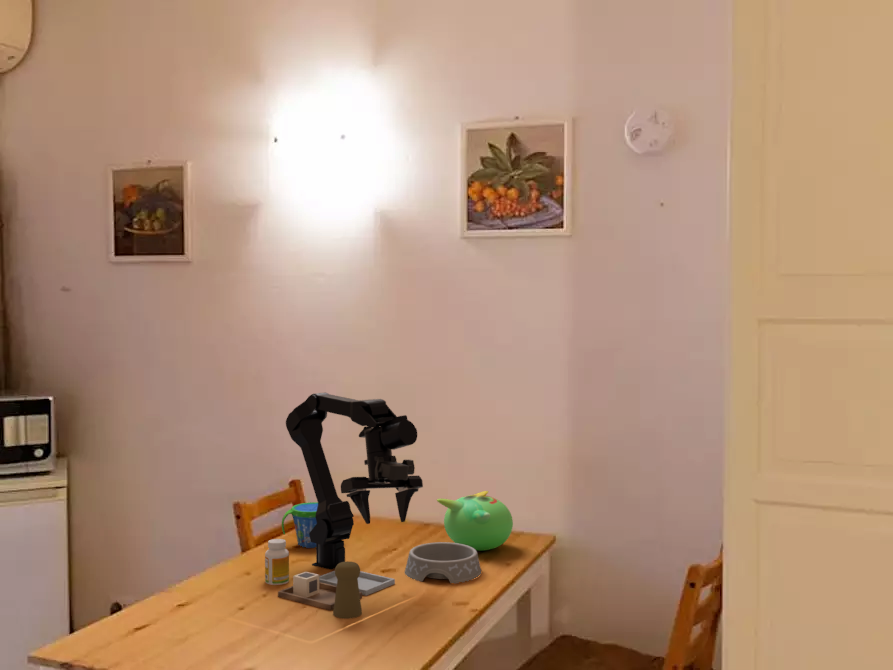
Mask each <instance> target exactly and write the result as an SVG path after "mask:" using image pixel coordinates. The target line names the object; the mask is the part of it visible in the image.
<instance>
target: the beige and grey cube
mask: <svg viewBox="0 0 893 670" xmlns="http://www.w3.org/2000/svg"><path fill="white" fill-rule="evenodd" d="M319 576H320V574H317V573H314V572H309V571H303V572H301V573H297V574H295V575H293V576H292V579H293V580H292V581H293V582H292V583H293V584H292V586H293V594H295V595H299V596H303V597H306V598H307V597H310V596H312V595H315V594H317V593H319Z"/></svg>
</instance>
